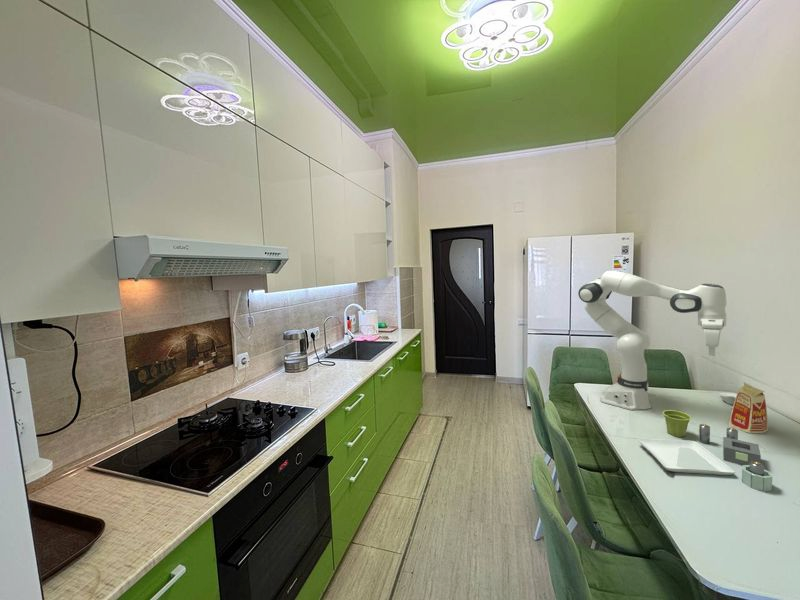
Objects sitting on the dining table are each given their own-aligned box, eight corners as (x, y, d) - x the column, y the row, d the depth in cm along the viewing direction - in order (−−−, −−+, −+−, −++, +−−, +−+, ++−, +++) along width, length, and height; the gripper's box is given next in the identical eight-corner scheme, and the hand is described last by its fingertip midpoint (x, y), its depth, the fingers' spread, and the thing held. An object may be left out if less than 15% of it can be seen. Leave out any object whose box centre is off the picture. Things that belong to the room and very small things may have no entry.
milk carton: (728, 424, 146) (729, 381, 144) (747, 422, 147) (748, 379, 145) (752, 434, 137) (753, 389, 135) (771, 432, 138) (773, 387, 136)
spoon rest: (716, 397, 174) (717, 384, 174) (748, 401, 167) (748, 388, 167) (726, 414, 155) (727, 400, 155) (762, 420, 148) (763, 405, 148)
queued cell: (726, 446, 130) (726, 428, 129) (726, 443, 132) (726, 425, 131) (737, 449, 128) (738, 431, 127) (737, 446, 130) (737, 428, 129)
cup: (742, 487, 107) (742, 472, 107) (741, 477, 112) (741, 462, 111) (772, 496, 102) (773, 480, 102) (770, 485, 107) (770, 470, 107)
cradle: (723, 462, 120) (723, 447, 120) (723, 451, 127) (723, 436, 127) (760, 472, 114) (760, 456, 113) (757, 459, 121) (758, 444, 120)
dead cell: (749, 484, 107) (750, 463, 106) (748, 479, 109) (749, 458, 109) (764, 488, 105) (764, 466, 104) (763, 483, 107) (763, 462, 106)
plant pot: (686, 430, 144) (686, 411, 143) (694, 440, 135) (694, 421, 135) (659, 427, 148) (659, 409, 147) (666, 437, 139) (666, 418, 139)
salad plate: (694, 447, 131) (694, 439, 131) (737, 481, 111) (737, 471, 110) (636, 445, 136) (636, 437, 136) (666, 477, 115) (666, 468, 115)
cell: (699, 442, 134) (699, 425, 133) (699, 439, 136) (699, 422, 136) (709, 445, 132) (710, 427, 131) (709, 441, 134) (710, 424, 133)
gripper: (701, 317, 149) (701, 346, 150) (701, 324, 134) (701, 357, 135) (721, 318, 144) (721, 348, 146) (722, 325, 130) (722, 359, 131)
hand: (711, 352), depth 140 cm, fingers open, 8 cm apart
